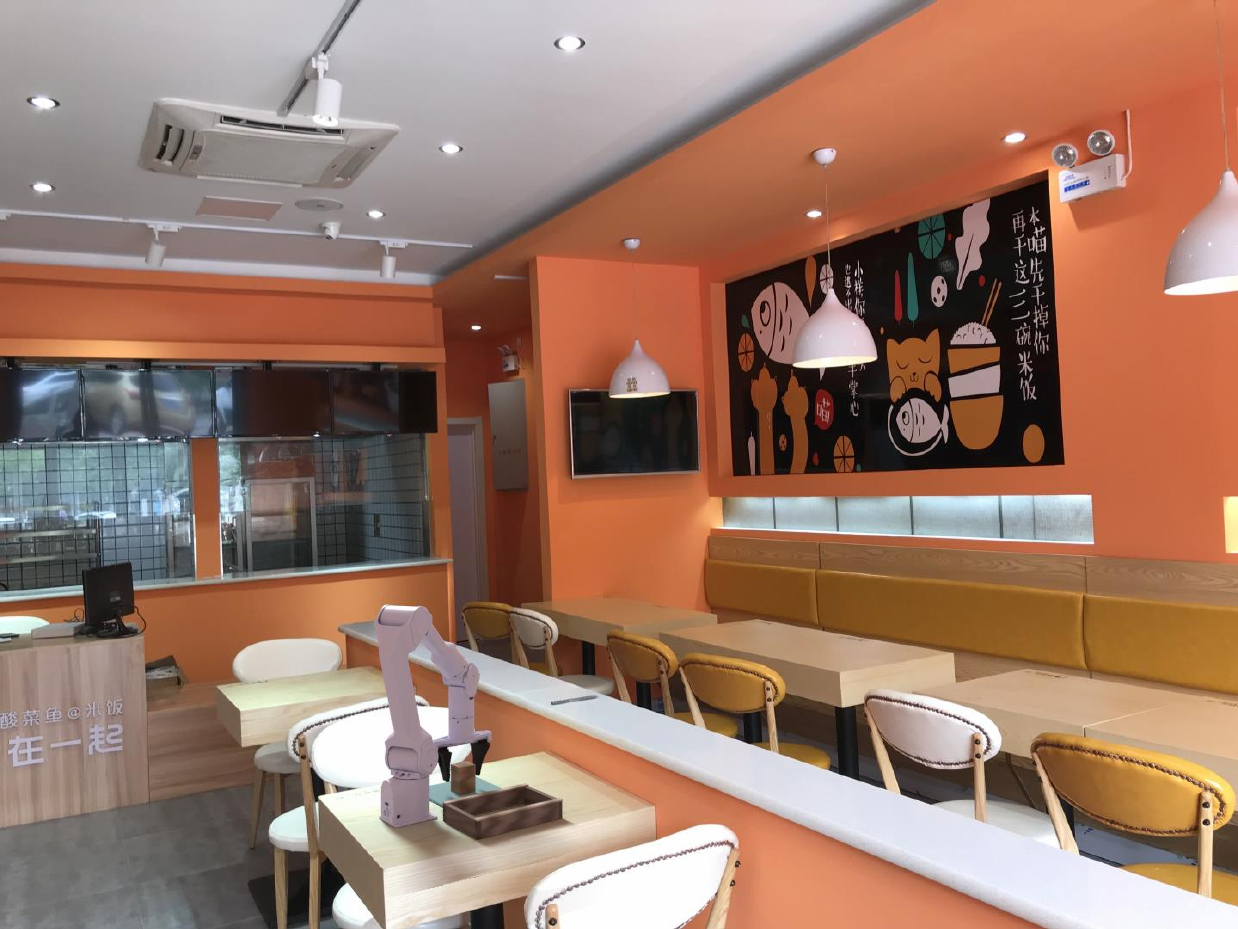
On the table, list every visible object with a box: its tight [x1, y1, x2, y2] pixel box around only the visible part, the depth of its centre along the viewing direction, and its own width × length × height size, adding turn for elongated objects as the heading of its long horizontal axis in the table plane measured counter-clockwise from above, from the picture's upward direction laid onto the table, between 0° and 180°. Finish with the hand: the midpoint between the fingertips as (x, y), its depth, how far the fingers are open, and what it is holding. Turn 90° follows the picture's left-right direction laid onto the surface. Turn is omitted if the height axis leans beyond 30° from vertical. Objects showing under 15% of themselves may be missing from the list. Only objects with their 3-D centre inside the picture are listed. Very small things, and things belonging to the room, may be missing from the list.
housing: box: [442, 783, 564, 840], centre depth 198 cm, size 20×14×4 cm
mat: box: [429, 776, 504, 808], centre depth 216 cm, size 16×16×1 cm
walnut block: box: [450, 760, 477, 795], centre depth 215 cm, size 4×4×6 cm
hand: (461, 777), depth 216 cm, fingers open, 7 cm apart
